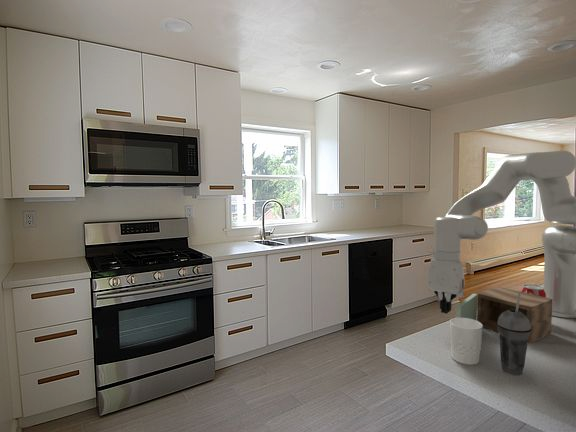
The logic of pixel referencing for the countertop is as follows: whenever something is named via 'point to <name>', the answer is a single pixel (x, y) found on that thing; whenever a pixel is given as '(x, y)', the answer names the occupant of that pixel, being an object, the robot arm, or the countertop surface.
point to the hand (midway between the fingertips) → (445, 312)
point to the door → (467, 308)
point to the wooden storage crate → (506, 299)
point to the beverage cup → (513, 339)
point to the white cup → (465, 340)
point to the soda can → (534, 290)
